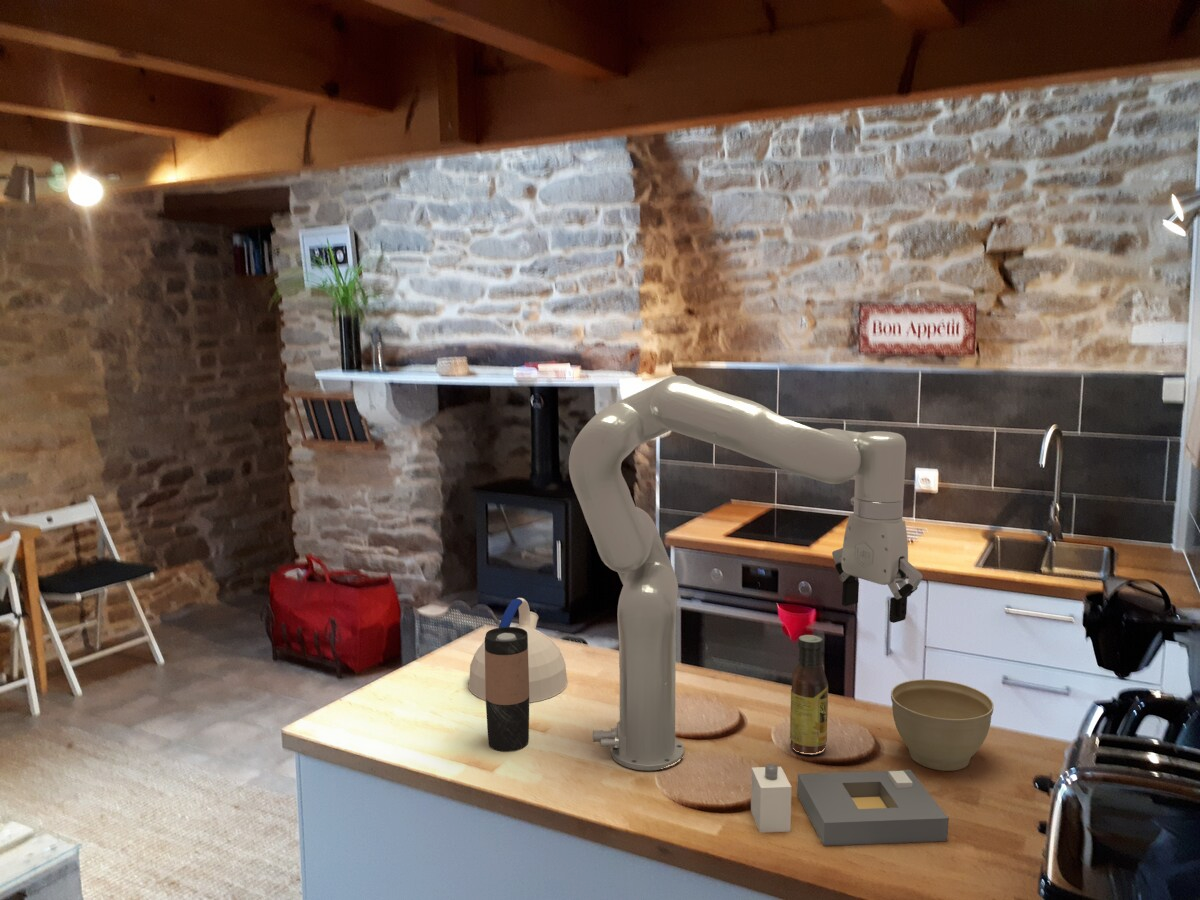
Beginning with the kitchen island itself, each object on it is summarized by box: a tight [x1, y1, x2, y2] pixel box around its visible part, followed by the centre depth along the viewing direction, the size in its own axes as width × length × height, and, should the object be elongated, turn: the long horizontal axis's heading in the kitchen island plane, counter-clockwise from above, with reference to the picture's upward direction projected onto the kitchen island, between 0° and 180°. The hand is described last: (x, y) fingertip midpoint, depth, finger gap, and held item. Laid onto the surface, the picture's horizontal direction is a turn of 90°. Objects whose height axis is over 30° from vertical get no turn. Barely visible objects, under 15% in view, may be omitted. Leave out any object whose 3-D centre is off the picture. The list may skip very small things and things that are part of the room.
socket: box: [796, 769, 950, 847], centre depth 138 cm, size 18×14×4 cm
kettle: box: [468, 597, 569, 704], centre depth 187 cm, size 20×21×18 cm
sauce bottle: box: [789, 634, 829, 753], centre depth 158 cm, size 6×6×20 cm
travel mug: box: [484, 626, 530, 753], centre depth 161 cm, size 8×8×20 cm
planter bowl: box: [890, 678, 994, 772], centre depth 155 cm, size 16×16×11 cm
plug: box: [750, 763, 793, 834], centre depth 137 cm, size 4×6×9 cm
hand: (873, 612), depth 149 cm, fingers open, 9 cm apart
